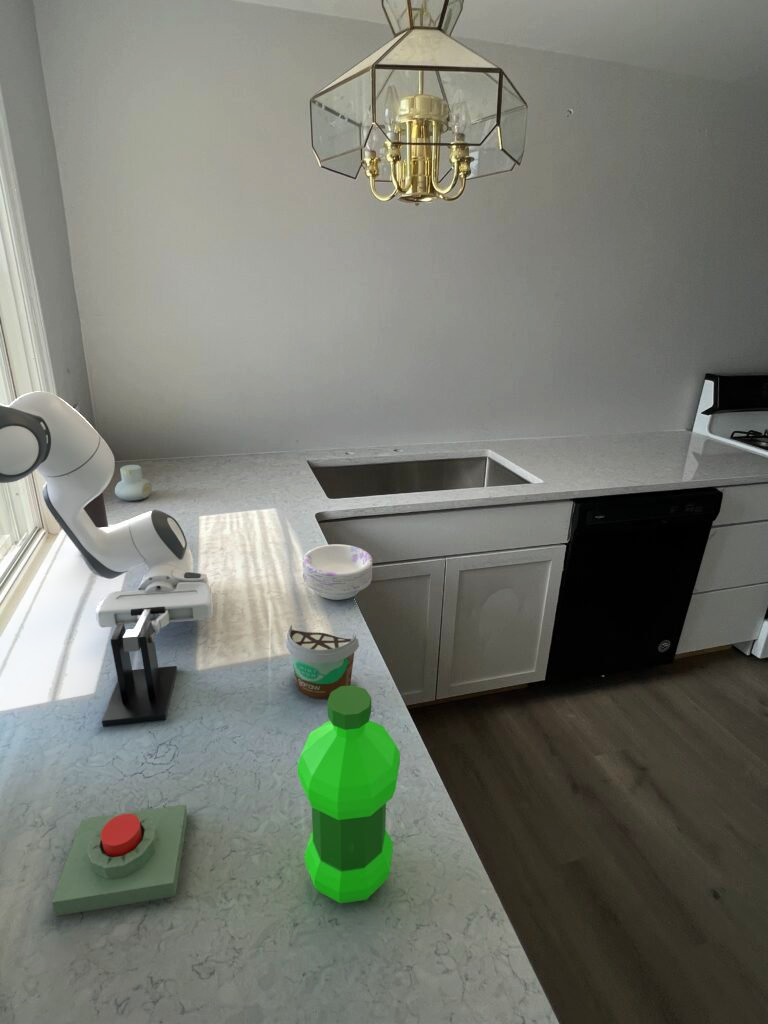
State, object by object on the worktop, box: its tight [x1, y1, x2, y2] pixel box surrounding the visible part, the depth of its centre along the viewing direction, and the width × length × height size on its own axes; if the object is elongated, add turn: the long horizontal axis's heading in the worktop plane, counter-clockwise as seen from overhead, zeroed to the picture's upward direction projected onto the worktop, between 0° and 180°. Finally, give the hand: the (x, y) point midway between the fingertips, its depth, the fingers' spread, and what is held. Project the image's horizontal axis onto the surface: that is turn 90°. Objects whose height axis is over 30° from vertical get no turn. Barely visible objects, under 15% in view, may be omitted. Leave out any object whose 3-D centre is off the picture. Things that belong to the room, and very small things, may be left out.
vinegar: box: [83, 492, 109, 528], centre depth 135 cm, size 7×7×20 cm
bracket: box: [101, 621, 178, 728], centre depth 87 cm, size 12×9×13 cm
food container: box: [285, 624, 360, 700], centre depth 90 cm, size 12×6×10 cm, turn 76°
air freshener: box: [114, 464, 153, 502], centre depth 171 cm, size 11×8×10 cm
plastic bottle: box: [296, 684, 401, 904], centre depth 59 cm, size 10×10×25 cm
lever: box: [122, 606, 166, 653], centre depth 91 cm, size 13×6×2 cm, turn 11°
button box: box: [51, 804, 189, 917], centre depth 63 cm, size 12×10×4 cm
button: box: [101, 814, 142, 857], centre depth 62 cm, size 4×4×2 cm
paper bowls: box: [302, 543, 373, 601], centre depth 122 cm, size 15×15×8 cm
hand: (149, 630), depth 97 cm, fingers closed
